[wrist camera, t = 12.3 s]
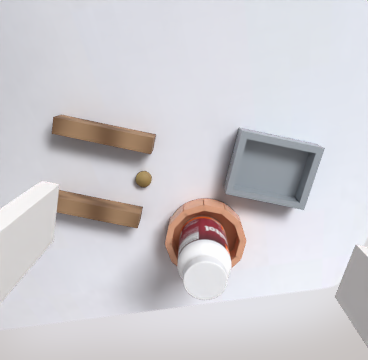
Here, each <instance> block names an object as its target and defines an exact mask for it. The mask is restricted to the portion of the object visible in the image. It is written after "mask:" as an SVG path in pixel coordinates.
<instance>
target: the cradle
mask: <svg viewBox="0 0 368 360" xmlns="http://www.w3.org/2000/svg"><path fill="white" fill-rule="evenodd" d="M52 134H56V135H61V136H66V137H71V138H76V139H80V140H85V141H90V142H95V143H100V144H104V145H109V146H114V147H119V148H124V149H128V150H133V151H138V152H143V153H148V154H151V153H152V151H153V148H154V142H155V137H156V134H151V133H146V132H141V131H136V130H132V129H127V128H122V127H117V126H113V125H108V124H103V123H98V122H94V121H89V120H84V119H79V118H74V117H70V116H65V115H59V116H55V117H53V127H52ZM151 180H152V177H151V175H150V174H149V173H148V172H146V171H141V172H139V173H138V174H137V176H136V183H137V184H138V185H139V186H141V187H147V186H148V185H149V184H150V183H151ZM142 208H143V207H140V206H135V205H130V204H125V203H120V202H115V201H110V200H105V199H101V198H96V197H91V196H86V195H81V194H76V193H71V192H66V191H61V190H59V194H58V203H57V212H58V213H63V214H68V215H73V216H78V217H83V218H88V219H93V220H98V221H103V222H108V223H113V224H118V225H123V226H128V227H133V228H138V225H139V222H140V219H141V213H142Z"/></svg>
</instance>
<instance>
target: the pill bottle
mask: <svg viewBox="0 0 368 360" xmlns="http://www.w3.org/2000/svg"><path fill="white" fill-rule="evenodd" d="M177 267H178V272H179V275H180V277H181V279H182V280H183V284H184V287H185V289H186V291H187V292H188V293H189V294H190V295H191V296H192V297H194V298H197V299H200V300H210V299H214V298H216V297H218V296H219V295H221V294H222V293H223V292H224V290H225V288H226V286H227V281H228V280H227V279H228V277H229V275H230V272H231V267H232V264H231V257H230V253H229V248H228V243H227V239H226V233H225V230H224V228H223V226H222V225H221V223H220V222H219V221H217V220H216V219H214V218H212V217H209V216H196V217H193V218H191V219H190V220H188V221H187V222H186V223H185V224H184V225H183V227H182V229H181V232H180V239H179V251H178V264H177Z"/></svg>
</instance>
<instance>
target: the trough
mask: <svg viewBox="0 0 368 360" xmlns="http://www.w3.org/2000/svg"><path fill="white" fill-rule="evenodd" d="M324 149H325V148H323V147H321V146H319V145H317V144H314V143H309V142H304V141H300V140H295V139H290V138H286V137H281V136H276V135H271V134H267V133H262V132H257V131H253V130H248V129H243V128H239V130H238V134H237V138H236V142H235V146H234V150H233V154H232V158H231V162H230V166H229V170H228V173H227V177H226V181H225V185H224V189H225V193H226V194H228V195H233V196H238V197H243V198H248V199H253V200H258V201H262V202H267V203H272V204H277V205H282V206H287V207H292V208H297V209H302V210H304V208H305V205H306V202H307V199H308V196H309V193H310V190H311V187H312V184H313V181H314V178H315V175H316V172H317V169H318V166H319V163H320V161H321V158H322V155H323V152H324Z"/></svg>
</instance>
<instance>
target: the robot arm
mask: <svg viewBox="0 0 368 360" xmlns="http://www.w3.org/2000/svg"><path fill="white" fill-rule="evenodd" d="M58 194H59V184H55V183H50V182H45V181H41V182H39V183H38V184H36V185H35V186H33V187H32V188H30V189H29V190H27V191H26V192H24V193H23V194H22V195H20V196H19V197H17V198H16V199H14V200H13V201H11V202H10V203H8V204H7V205H5V206H4V207H2V208H1V209H0V304H1V303H2V302H3V300H4V299H5V298H6V297H7V296H8V295H9V293H10V292H11V291H12V290H13V289H14V288H15V286H16V285H17V284H18V283H19V282H20V281H21V279H22V278H23V277H24V276H25V275H26V273H27V272H28V271H29V270H30V269H31V268H32V266H33V265H34V264H35V263H36V262H37V261H38V259H39V258H40V257H41V256H42V255H43V253H44V252H45V251H46V250H47V249H48V248H49V246H50V245H51V244H52V243H53V242H54V233H55V223H56V213H57V203H58ZM335 298H336V299H337V301H338V302H339V304H340V306H341V307H342V309H343V310H344V312H345V313H346V315H347V316H348V318H349V320H350V321H351V322H352V324H353V326H354V327H355V329H356V330H357V332H358V333H359V335H360V336H361V338H362V340H363V341H364V343H365V344H366V346H367V347H368V247H365V246H361V245H355V247H354V250H353V252H352V255H351V257H350V260H349V262H348V265H347V267H346V270H345V272H344V275H343V277H342V280H341V282H340V285H339V287H338V290H337V292H336V295H335Z"/></svg>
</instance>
